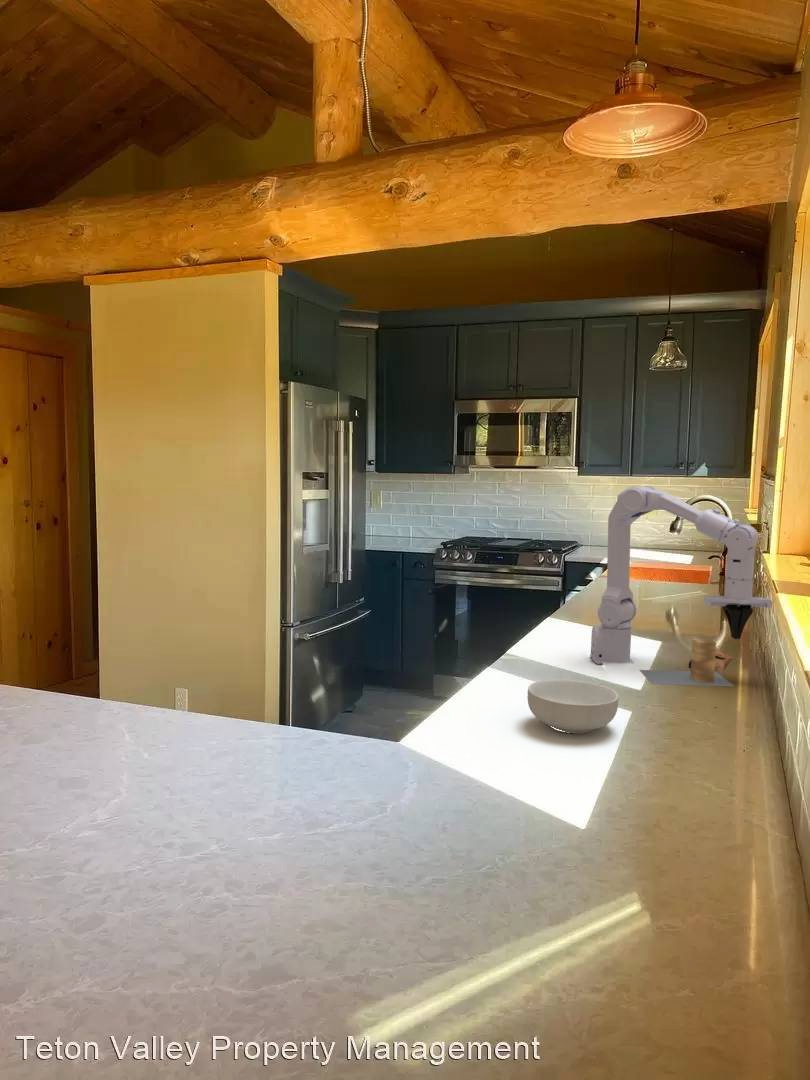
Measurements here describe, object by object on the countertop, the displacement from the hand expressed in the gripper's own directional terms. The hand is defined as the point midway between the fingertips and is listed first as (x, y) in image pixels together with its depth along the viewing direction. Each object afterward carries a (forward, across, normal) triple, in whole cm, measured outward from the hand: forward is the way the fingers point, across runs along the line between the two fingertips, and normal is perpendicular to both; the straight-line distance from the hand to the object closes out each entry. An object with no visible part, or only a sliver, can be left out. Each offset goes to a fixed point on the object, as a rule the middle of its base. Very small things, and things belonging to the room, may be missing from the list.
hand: (735, 638), depth 181 cm
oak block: (+10, -7, 0) cm, 12 cm away
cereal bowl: (+11, -42, -34) cm, 55 cm away
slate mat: (+10, -10, +1) cm, 15 cm away
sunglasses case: (+11, +1, +16) cm, 20 cm away
